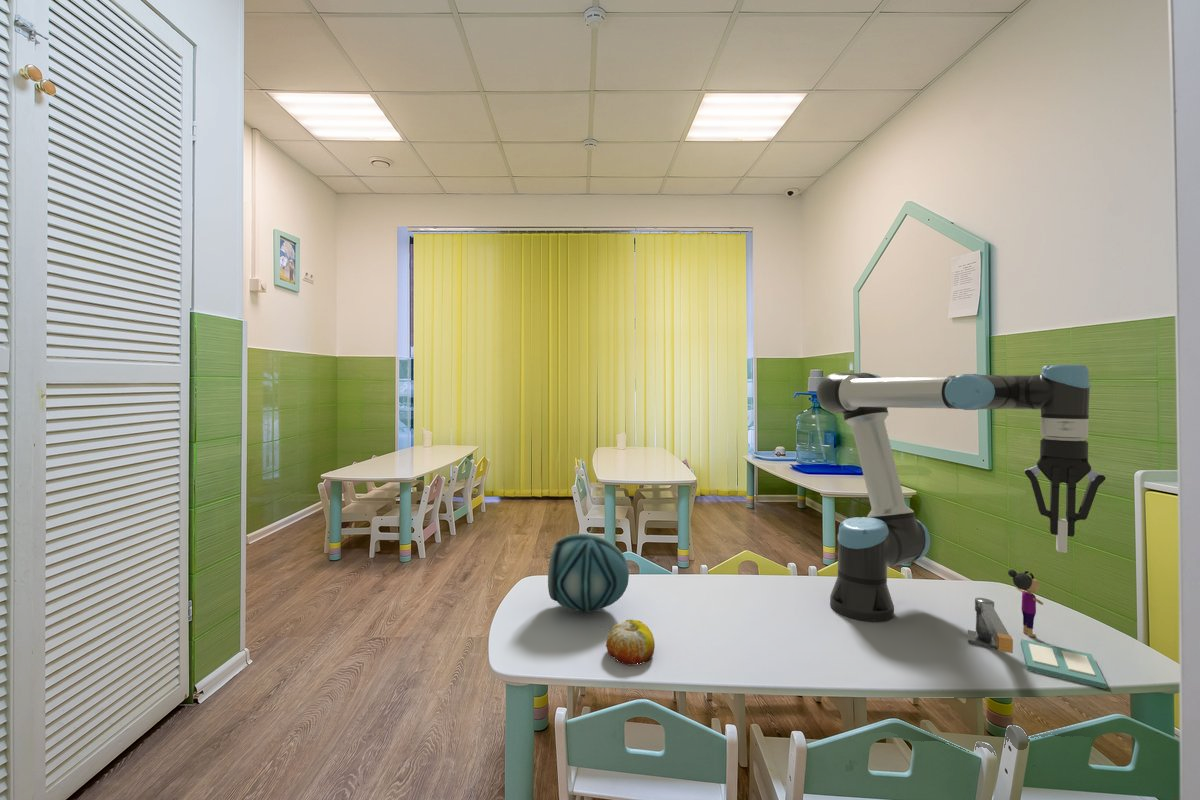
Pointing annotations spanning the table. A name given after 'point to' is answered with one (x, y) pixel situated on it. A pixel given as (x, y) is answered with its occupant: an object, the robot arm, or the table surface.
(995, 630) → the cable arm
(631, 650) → the fruit
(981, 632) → the post
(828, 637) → the table surface
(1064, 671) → the mat
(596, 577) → the toy
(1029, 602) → the toy
